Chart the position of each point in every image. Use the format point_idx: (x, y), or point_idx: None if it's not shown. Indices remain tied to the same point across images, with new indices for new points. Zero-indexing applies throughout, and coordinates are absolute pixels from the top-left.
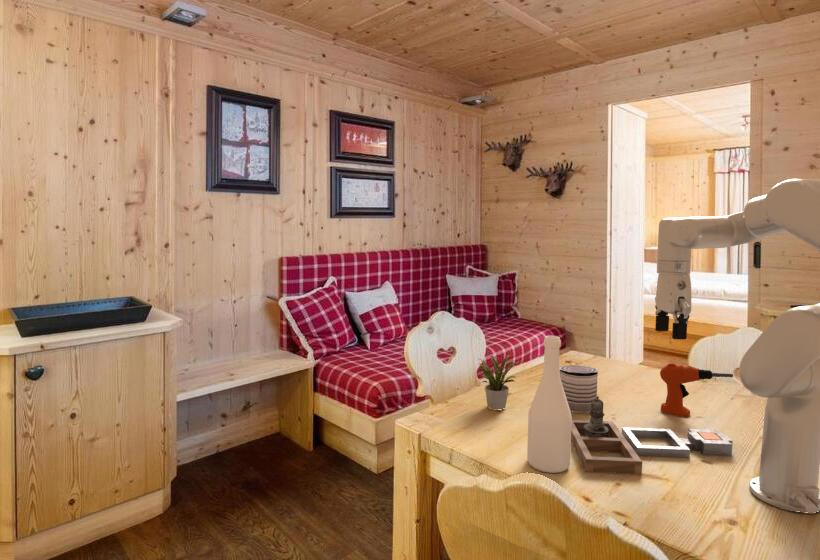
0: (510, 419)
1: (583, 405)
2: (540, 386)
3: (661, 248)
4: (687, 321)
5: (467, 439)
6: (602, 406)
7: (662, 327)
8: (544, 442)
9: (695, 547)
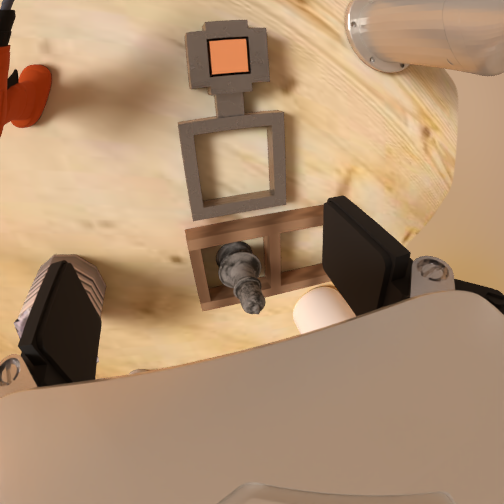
0: (179, 359)
1: (98, 285)
2: None
3: None
4: (447, 270)
5: None
6: (260, 292)
7: (83, 310)
8: None
9: (447, 184)
